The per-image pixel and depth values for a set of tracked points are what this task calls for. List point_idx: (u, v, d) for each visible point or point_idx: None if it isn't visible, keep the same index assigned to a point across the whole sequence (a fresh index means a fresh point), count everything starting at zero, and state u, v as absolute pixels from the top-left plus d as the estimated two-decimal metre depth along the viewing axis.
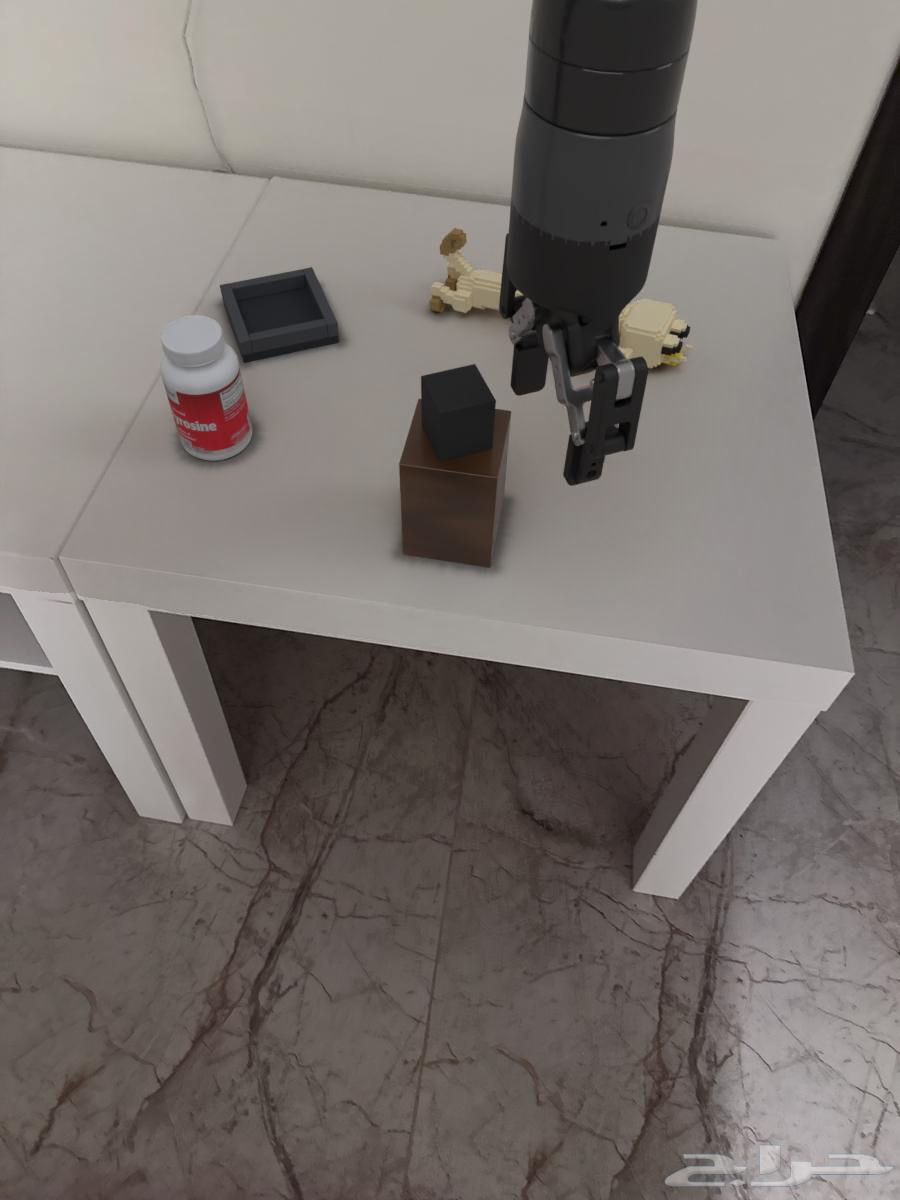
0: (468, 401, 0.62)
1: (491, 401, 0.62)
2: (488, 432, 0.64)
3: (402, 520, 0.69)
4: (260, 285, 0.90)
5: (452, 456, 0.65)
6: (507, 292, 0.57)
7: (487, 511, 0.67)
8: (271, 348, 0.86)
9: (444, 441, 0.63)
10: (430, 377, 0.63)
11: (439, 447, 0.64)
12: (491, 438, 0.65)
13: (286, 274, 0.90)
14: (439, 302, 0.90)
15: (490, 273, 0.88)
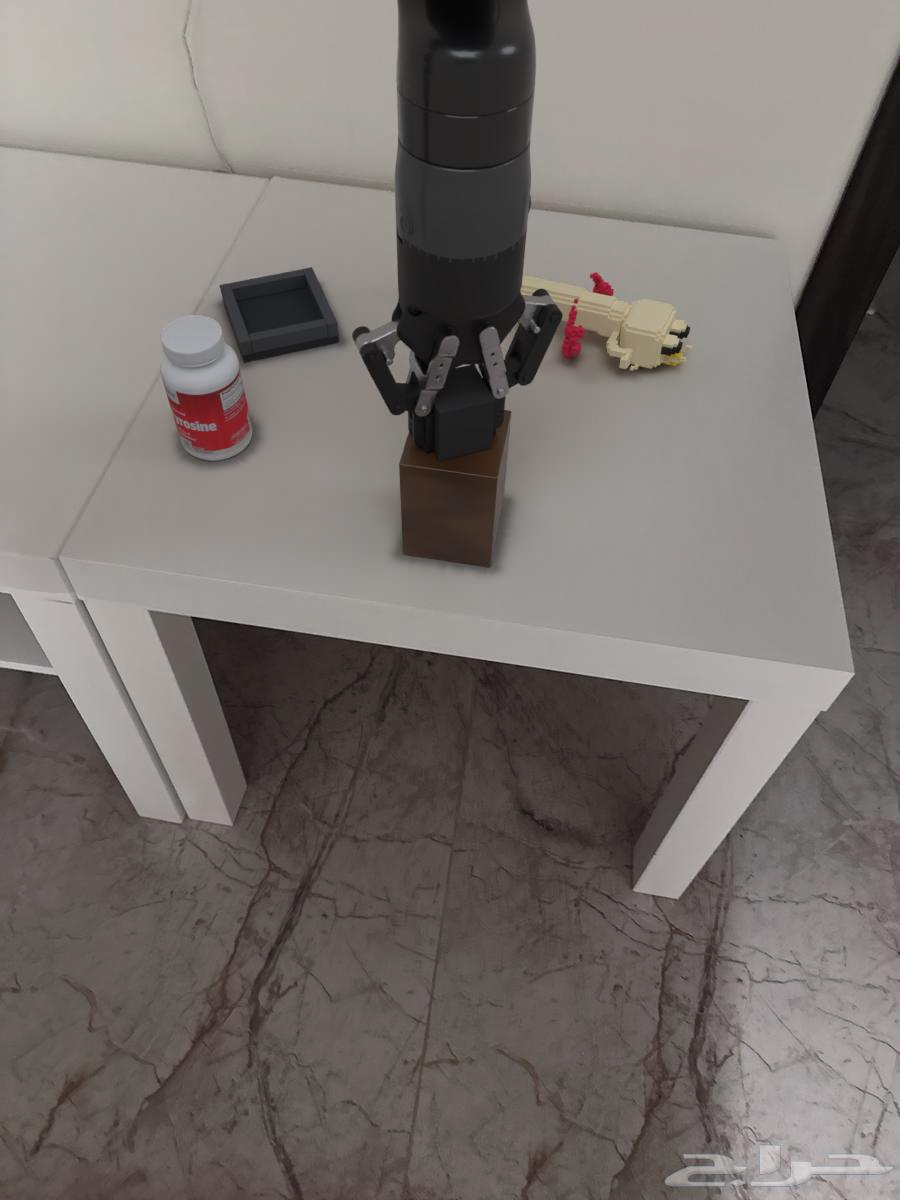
0: (467, 400, 0.62)
1: (491, 400, 0.62)
2: (487, 432, 0.64)
3: (402, 520, 0.69)
4: (260, 285, 0.90)
5: (451, 456, 0.65)
6: None
7: (487, 511, 0.67)
8: (271, 348, 0.86)
9: (443, 441, 0.63)
10: None
11: (438, 447, 0.64)
12: (490, 438, 0.65)
13: (286, 274, 0.90)
14: None
15: None
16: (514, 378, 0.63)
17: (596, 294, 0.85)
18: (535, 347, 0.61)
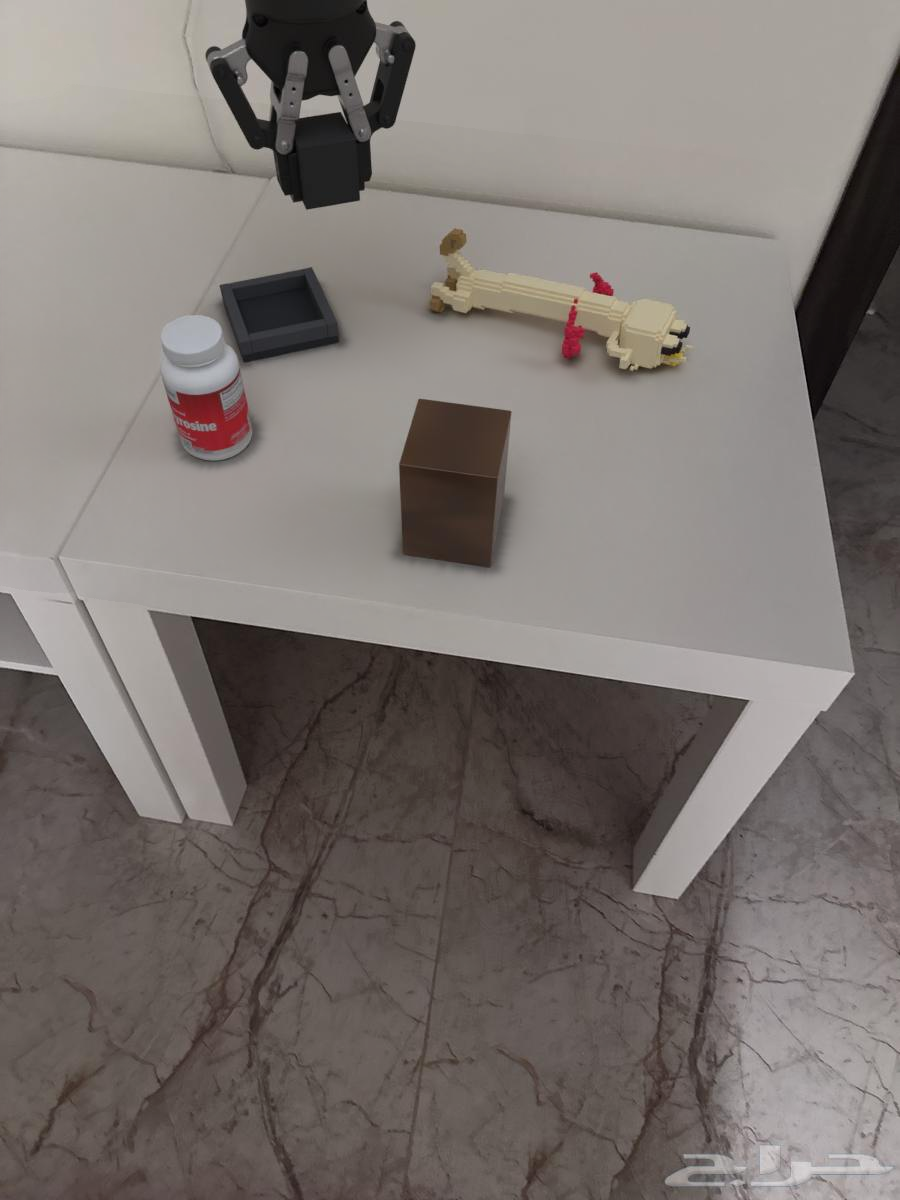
0: (328, 139, 0.63)
1: (351, 139, 0.63)
2: (353, 179, 0.65)
3: (402, 520, 0.69)
4: (260, 285, 0.90)
5: (318, 204, 0.66)
6: None
7: (487, 511, 0.67)
8: (271, 348, 0.86)
9: (307, 184, 0.64)
10: None
11: (303, 192, 0.65)
12: (357, 187, 0.66)
13: (286, 274, 0.90)
14: (439, 302, 0.90)
15: (490, 273, 0.88)
16: (376, 120, 0.64)
17: (596, 294, 0.85)
18: (392, 81, 0.62)
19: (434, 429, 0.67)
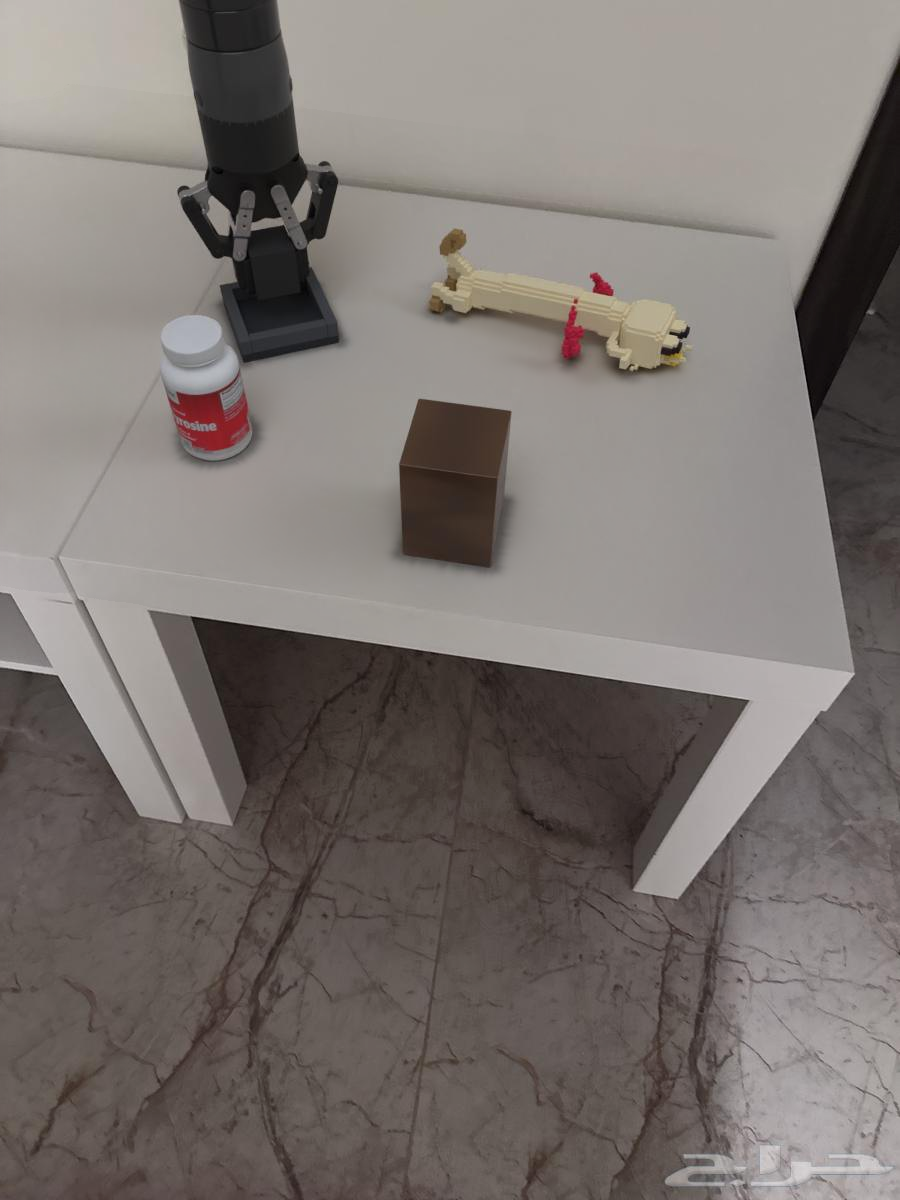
0: (273, 249, 0.82)
1: (291, 249, 0.82)
2: (294, 277, 0.84)
3: (402, 520, 0.69)
4: None
5: (268, 296, 0.85)
6: None
7: (487, 511, 0.67)
8: (271, 348, 0.86)
9: (258, 282, 0.83)
10: None
11: (255, 288, 0.84)
12: (297, 282, 0.84)
13: None
14: (439, 302, 0.90)
15: (490, 273, 0.88)
16: (311, 233, 0.83)
17: (596, 294, 0.85)
18: (321, 206, 0.80)
19: (434, 429, 0.67)
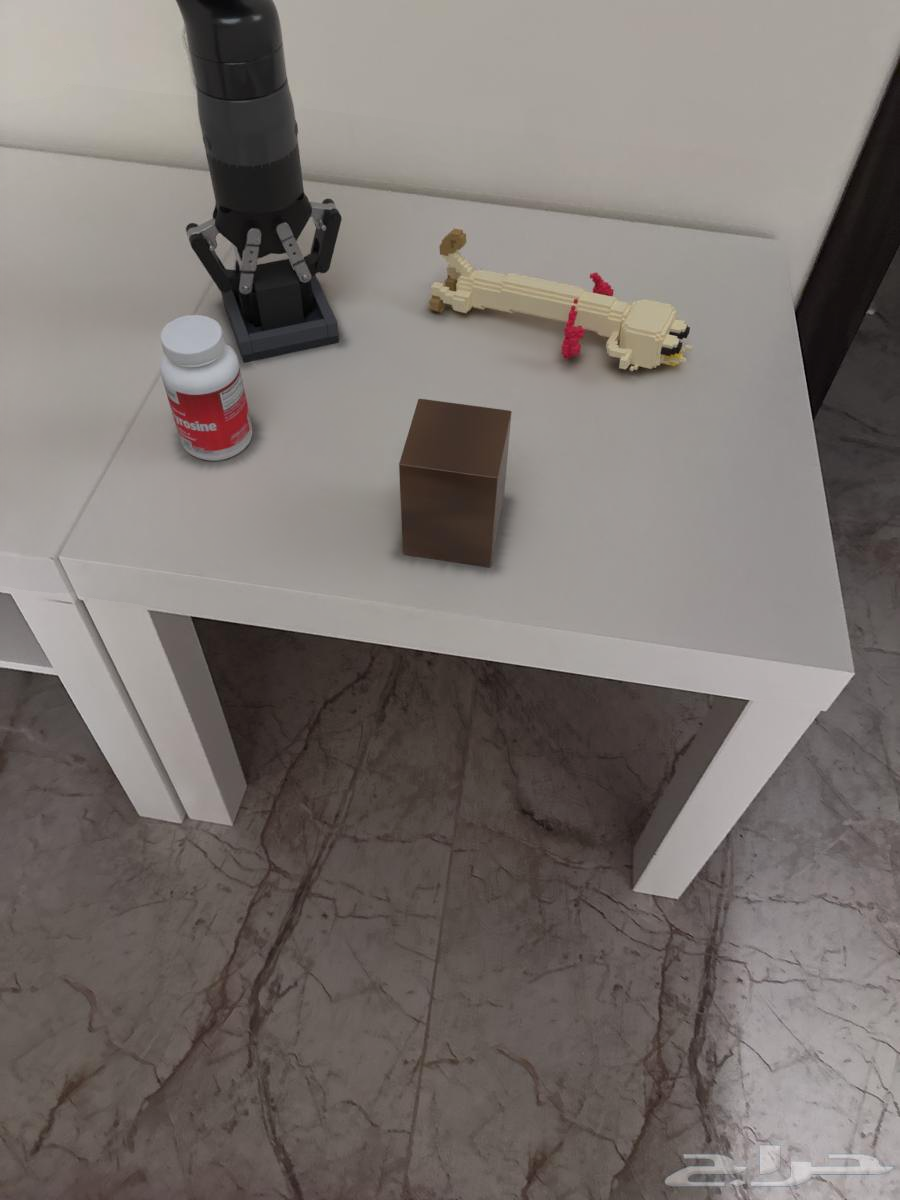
0: (278, 282, 0.84)
1: (296, 282, 0.84)
2: (298, 309, 0.87)
3: (402, 520, 0.69)
4: None
5: (273, 328, 0.87)
6: None
7: (487, 511, 0.67)
8: (271, 348, 0.86)
9: (263, 314, 0.86)
10: None
11: (261, 319, 0.86)
12: (301, 314, 0.87)
13: None
14: (439, 302, 0.90)
15: (490, 273, 0.88)
16: (315, 267, 0.85)
17: (596, 294, 0.85)
18: (325, 242, 0.83)
19: (434, 429, 0.67)
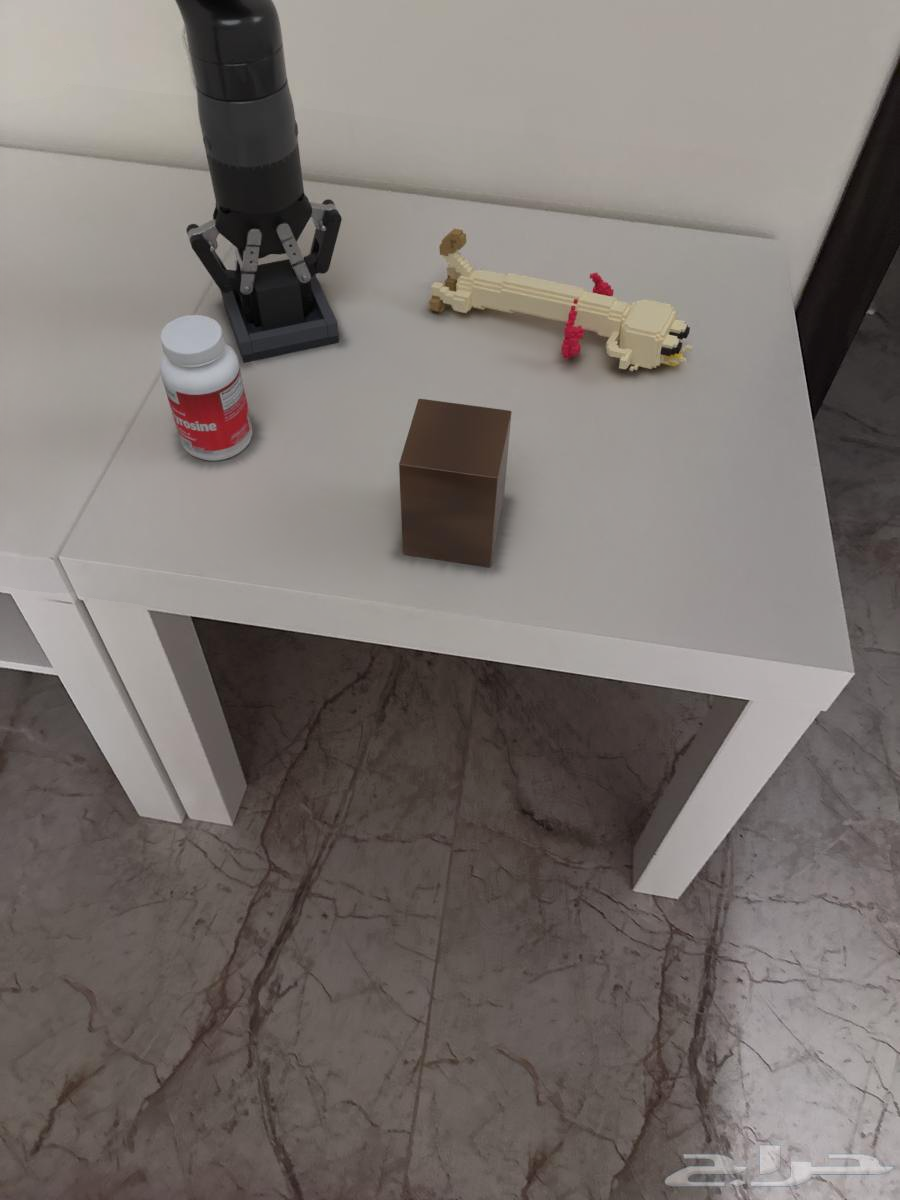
0: (279, 283, 0.84)
1: (296, 283, 0.85)
2: (298, 309, 0.87)
3: (402, 520, 0.69)
4: None
5: (273, 328, 0.87)
6: None
7: (487, 511, 0.67)
8: (271, 348, 0.86)
9: (264, 315, 0.86)
10: None
11: (261, 320, 0.86)
12: (302, 315, 0.87)
13: None
14: (439, 302, 0.90)
15: (490, 273, 0.88)
16: (314, 268, 0.85)
17: (596, 294, 0.85)
18: (325, 243, 0.83)
19: (434, 429, 0.67)
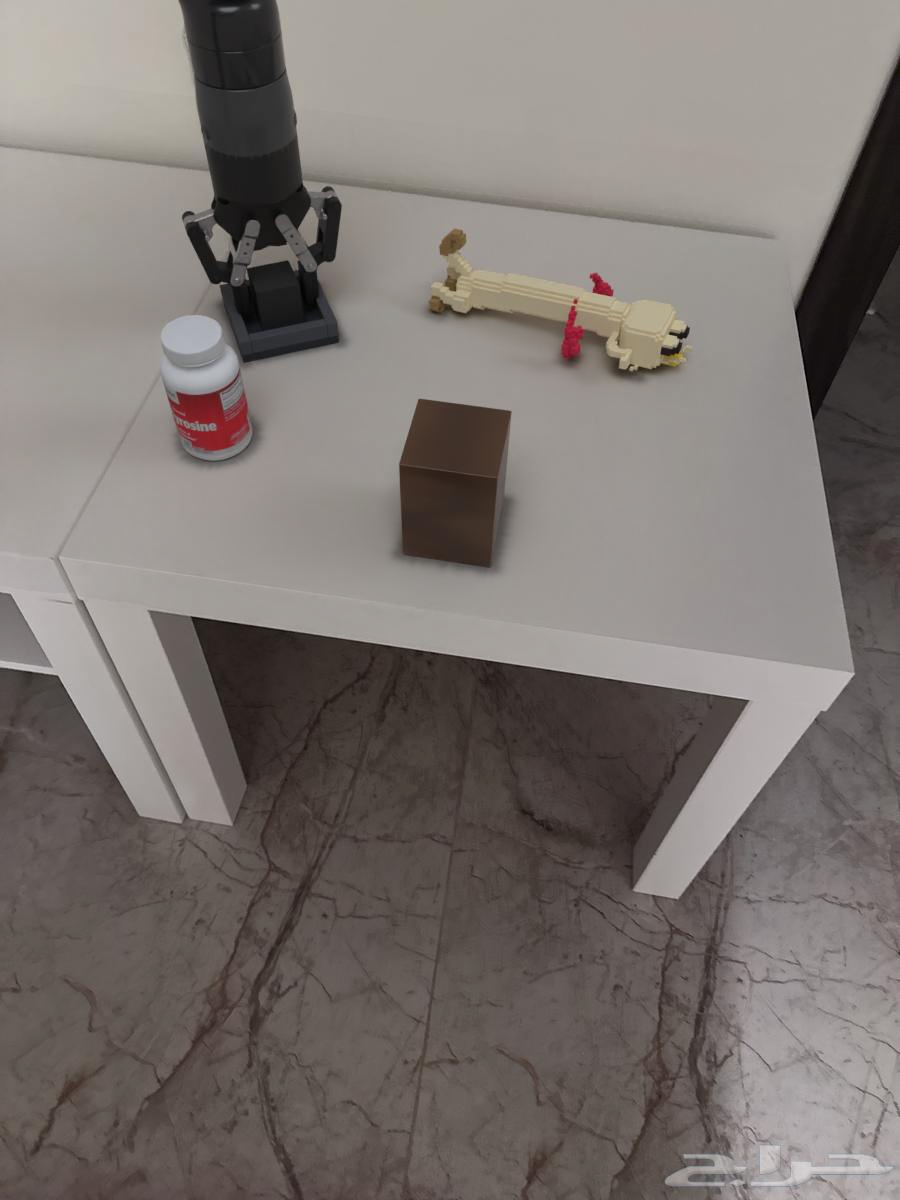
0: (278, 284, 0.84)
1: (296, 284, 0.84)
2: (298, 310, 0.87)
3: (402, 520, 0.69)
4: None
5: None
6: None
7: (487, 511, 0.67)
8: (271, 348, 0.86)
9: (264, 316, 0.86)
10: (253, 268, 0.86)
11: (261, 321, 0.86)
12: (302, 315, 0.87)
13: None
14: (439, 302, 0.90)
15: (490, 273, 0.88)
16: (321, 256, 0.85)
17: (596, 294, 0.85)
18: (328, 231, 0.82)
19: (434, 429, 0.67)
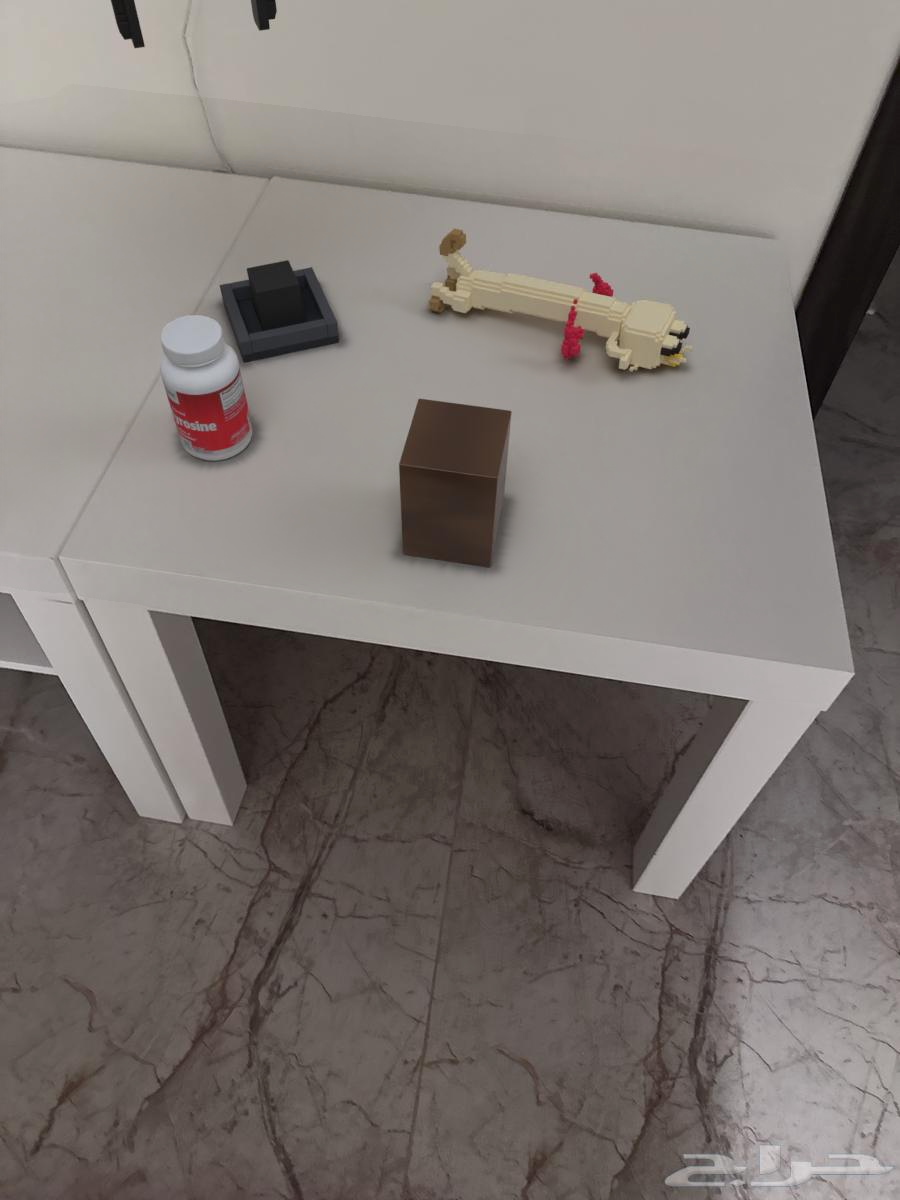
0: (278, 284, 0.84)
1: (296, 284, 0.84)
2: (298, 310, 0.87)
3: (402, 520, 0.69)
4: None
5: None
6: None
7: (487, 511, 0.67)
8: (271, 348, 0.86)
9: (264, 316, 0.86)
10: (253, 268, 0.86)
11: (261, 321, 0.86)
12: (302, 315, 0.87)
13: None
14: (438, 302, 0.90)
15: (490, 274, 0.88)
16: None
17: (596, 295, 0.85)
18: None
19: (434, 429, 0.67)
